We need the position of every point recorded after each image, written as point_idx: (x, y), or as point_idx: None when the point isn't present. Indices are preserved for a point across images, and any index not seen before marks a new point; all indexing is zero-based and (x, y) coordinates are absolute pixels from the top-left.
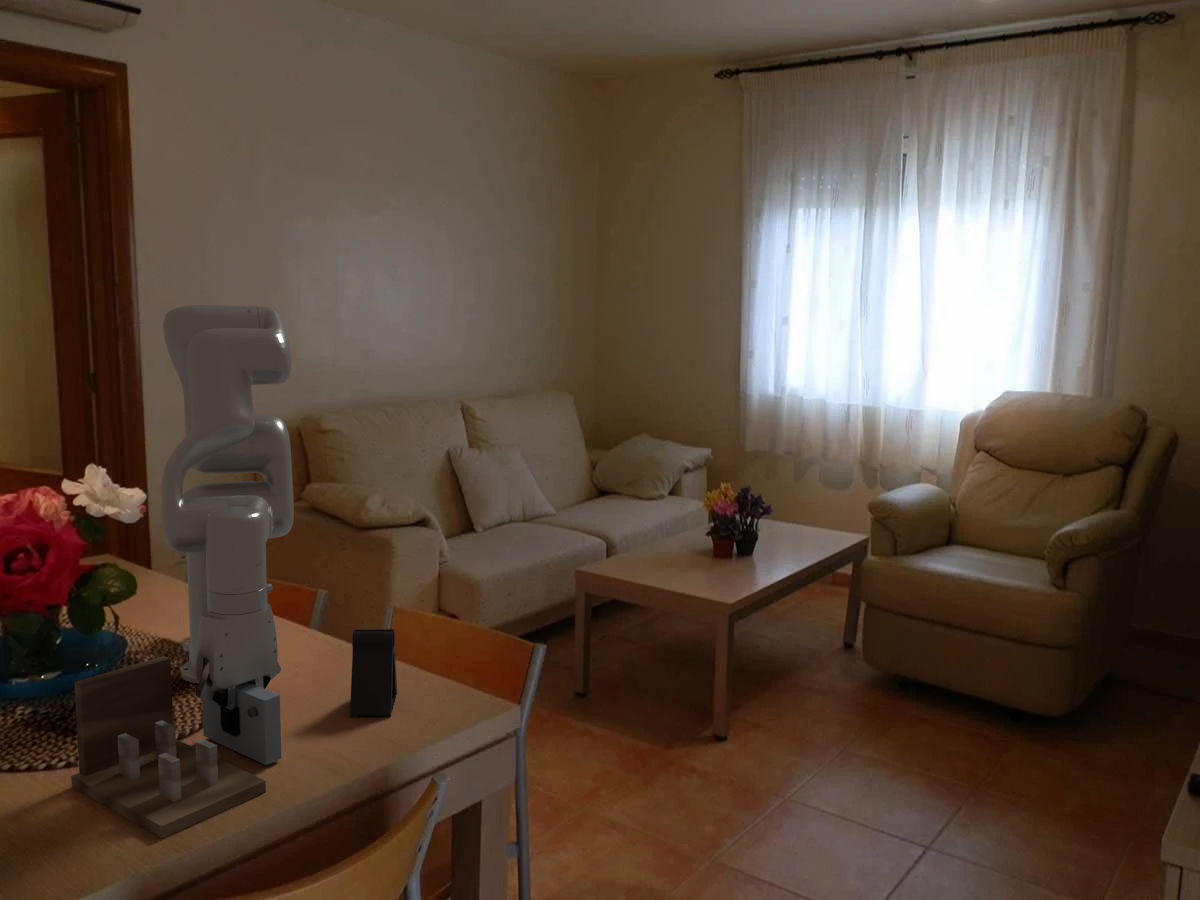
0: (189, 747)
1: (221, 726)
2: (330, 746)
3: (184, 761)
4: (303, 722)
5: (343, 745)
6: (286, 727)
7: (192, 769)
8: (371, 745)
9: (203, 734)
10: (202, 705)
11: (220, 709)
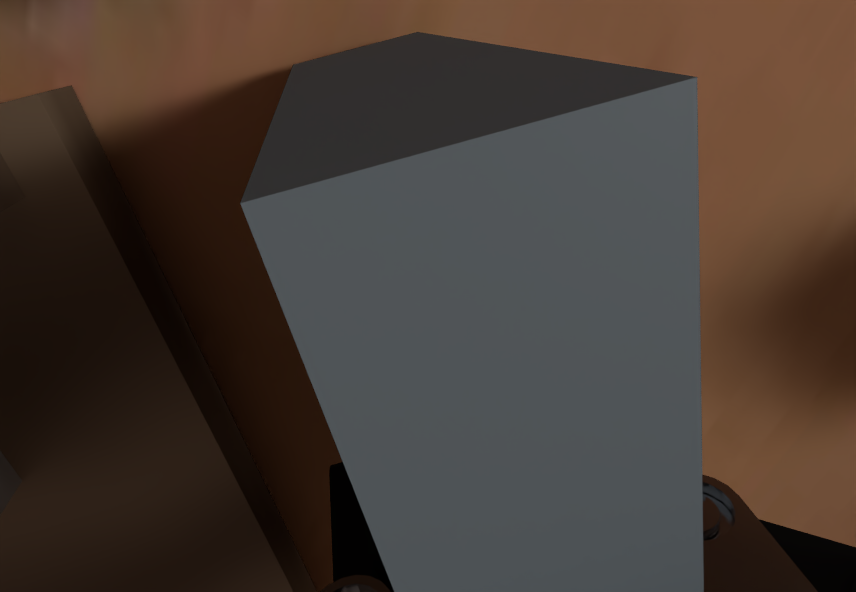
0: (132, 317)
1: (332, 468)
2: (738, 484)
3: (71, 481)
4: (844, 184)
5: (774, 497)
6: (749, 193)
7: (103, 574)
8: (832, 537)
9: (293, 65)
10: (282, 94)
11: (335, 578)
